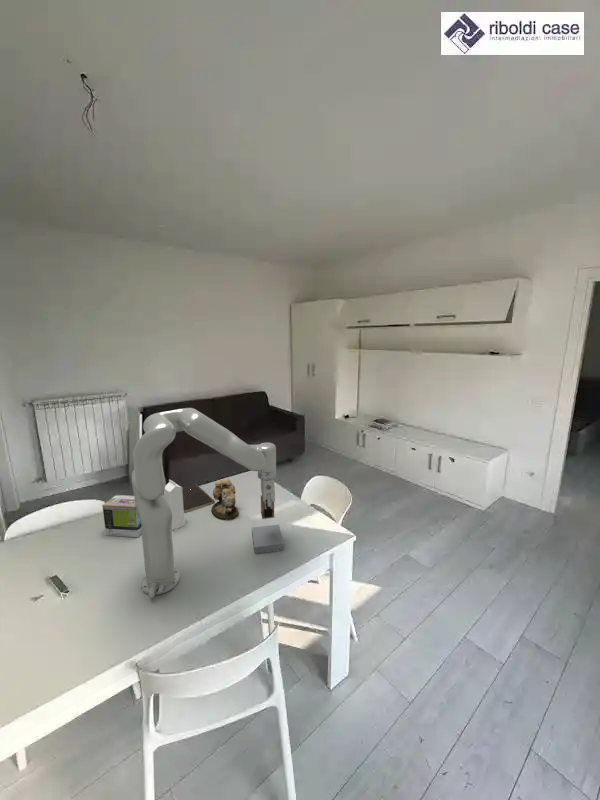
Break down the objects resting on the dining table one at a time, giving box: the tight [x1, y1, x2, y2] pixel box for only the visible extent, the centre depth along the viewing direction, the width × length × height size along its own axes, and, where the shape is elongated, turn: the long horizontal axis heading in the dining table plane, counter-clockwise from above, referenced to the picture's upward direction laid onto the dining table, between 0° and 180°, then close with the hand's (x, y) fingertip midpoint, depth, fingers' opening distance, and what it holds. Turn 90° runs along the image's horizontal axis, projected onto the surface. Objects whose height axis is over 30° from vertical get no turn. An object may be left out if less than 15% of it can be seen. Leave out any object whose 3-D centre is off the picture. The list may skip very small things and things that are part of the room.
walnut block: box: [260, 494, 275, 520], centre depth 141 cm, size 5×5×8 cm
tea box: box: [101, 494, 142, 538], centre depth 149 cm, size 15×10×15 cm, turn 84°
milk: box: [163, 478, 186, 532], centre depth 153 cm, size 6×6×22 cm
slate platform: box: [251, 524, 285, 555], centre depth 144 cm, size 14×12×3 cm
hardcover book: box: [182, 484, 216, 514], centre depth 179 cm, size 16×23×2 cm
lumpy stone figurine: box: [211, 478, 240, 521], centre depth 166 cm, size 18×12×17 cm, turn 42°
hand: (267, 512), depth 142 cm, fingers closed on walnut block, 5 cm apart
